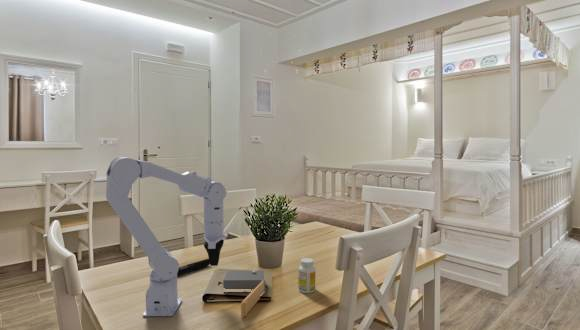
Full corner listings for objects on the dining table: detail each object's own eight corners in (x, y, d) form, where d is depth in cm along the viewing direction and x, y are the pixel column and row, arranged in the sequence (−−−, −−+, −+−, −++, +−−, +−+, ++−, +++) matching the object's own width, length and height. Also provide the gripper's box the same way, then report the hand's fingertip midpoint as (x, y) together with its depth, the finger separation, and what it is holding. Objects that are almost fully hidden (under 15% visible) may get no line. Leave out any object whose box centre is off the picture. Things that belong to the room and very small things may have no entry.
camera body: (262, 292, 106) (262, 278, 106) (223, 292, 106) (223, 278, 106) (263, 280, 115) (263, 267, 115) (228, 281, 115) (228, 268, 115)
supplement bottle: (299, 293, 105) (299, 263, 105) (297, 286, 111) (297, 257, 110) (316, 293, 106) (316, 262, 105) (313, 285, 111) (314, 257, 111)
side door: (266, 292, 106) (266, 280, 105) (244, 318, 90) (244, 303, 90) (262, 292, 106) (262, 279, 106) (240, 317, 91) (240, 302, 91)
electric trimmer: (212, 267, 129) (212, 259, 129) (174, 278, 118) (174, 269, 117) (207, 265, 132) (207, 256, 131) (169, 276, 120) (169, 267, 120)
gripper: (225, 226, 97) (226, 273, 98) (228, 215, 111) (228, 256, 112) (200, 227, 96) (201, 274, 97) (206, 216, 110) (206, 257, 111)
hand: (214, 265), depth 104 cm, fingers closed
